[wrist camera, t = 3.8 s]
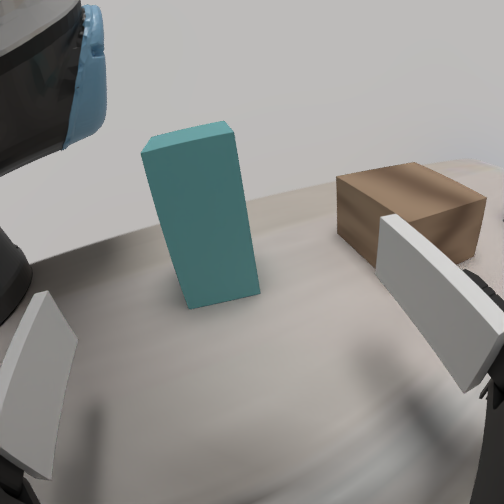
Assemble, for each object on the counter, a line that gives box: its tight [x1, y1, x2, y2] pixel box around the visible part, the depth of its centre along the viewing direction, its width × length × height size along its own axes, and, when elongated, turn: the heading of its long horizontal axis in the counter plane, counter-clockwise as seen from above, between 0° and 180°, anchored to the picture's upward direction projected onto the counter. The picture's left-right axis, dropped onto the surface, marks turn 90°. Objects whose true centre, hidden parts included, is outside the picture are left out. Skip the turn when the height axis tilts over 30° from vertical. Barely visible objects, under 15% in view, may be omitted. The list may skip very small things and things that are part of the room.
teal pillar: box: [141, 121, 260, 309], centre depth 19 cm, size 5×5×10 cm
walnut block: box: [336, 162, 487, 269], centre depth 20 cm, size 8×8×5 cm
